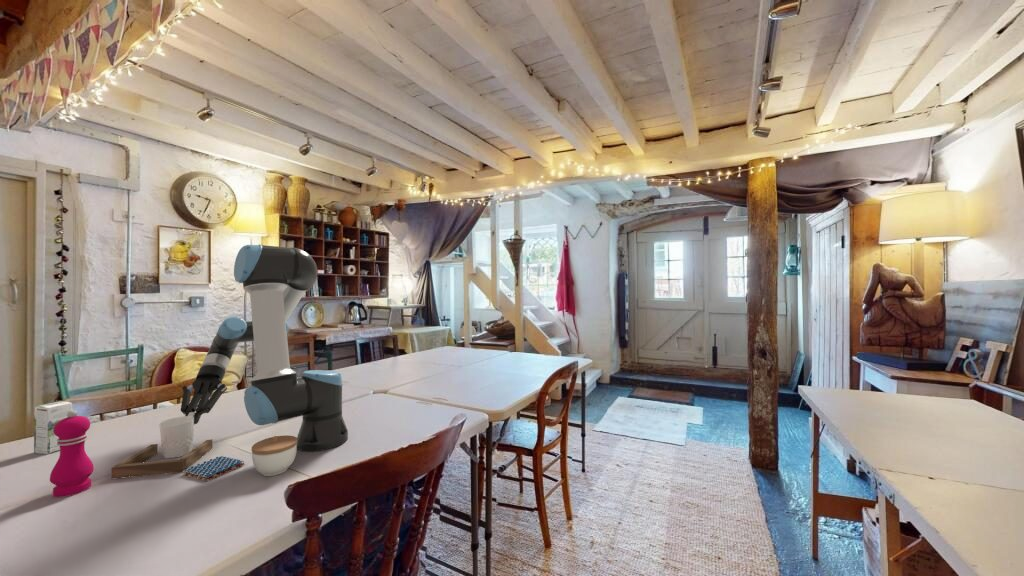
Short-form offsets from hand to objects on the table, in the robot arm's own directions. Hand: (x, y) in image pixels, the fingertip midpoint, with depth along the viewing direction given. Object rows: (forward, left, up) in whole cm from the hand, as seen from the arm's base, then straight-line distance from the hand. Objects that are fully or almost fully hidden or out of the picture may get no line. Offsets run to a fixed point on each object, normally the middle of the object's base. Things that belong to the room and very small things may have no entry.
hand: (185, 433), depth 120 cm
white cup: (-4, +2, -5) cm, 6 cm away
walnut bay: (-9, +5, -5) cm, 11 cm away
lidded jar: (-37, -17, -5) cm, 41 cm away
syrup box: (+27, +30, -5) cm, 41 cm away
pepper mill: (-14, +22, -5) cm, 27 cm away
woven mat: (-25, -5, -5) cm, 26 cm away
